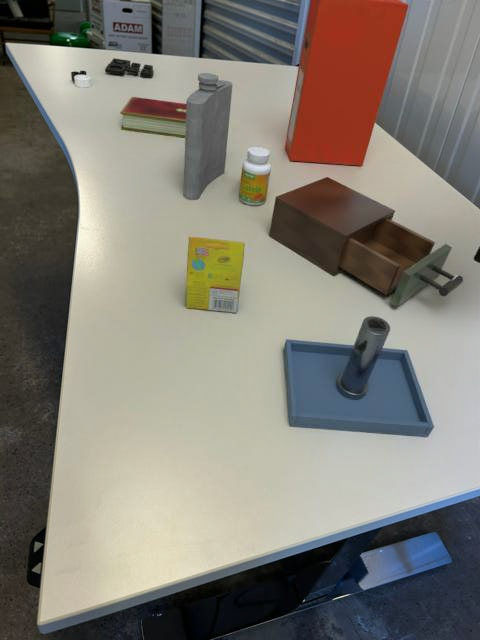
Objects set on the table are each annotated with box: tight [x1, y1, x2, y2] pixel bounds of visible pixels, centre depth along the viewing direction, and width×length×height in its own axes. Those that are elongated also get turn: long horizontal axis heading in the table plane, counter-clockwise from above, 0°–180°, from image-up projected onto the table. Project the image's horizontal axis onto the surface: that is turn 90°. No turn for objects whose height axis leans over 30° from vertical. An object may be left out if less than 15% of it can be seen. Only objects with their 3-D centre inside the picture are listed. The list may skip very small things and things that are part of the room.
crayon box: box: [185, 236, 246, 314], centre depth 65 cm, size 7×3×12 cm, turn 88°
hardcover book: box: [119, 96, 186, 139], centre depth 116 cm, size 12×21×4 cm, turn 87°
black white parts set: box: [70, 57, 154, 89], centre depth 140 cm, size 20×25×3 cm
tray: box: [283, 338, 435, 438], centre depth 59 cm, size 16×12×2 cm
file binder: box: [284, 0, 409, 167], centre depth 103 cm, size 8×17×32 cm, turn 95°
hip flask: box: [182, 72, 233, 201], centre depth 90 cm, size 16×4×20 cm, turn 160°
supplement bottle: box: [238, 146, 272, 206], centre depth 90 cm, size 5×5×10 cm
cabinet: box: [268, 176, 396, 277], centre depth 82 cm, size 15×14×8 cm
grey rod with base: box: [336, 315, 391, 400], centre depth 55 cm, size 4×5×10 cm
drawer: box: [339, 218, 464, 308], centre depth 75 cm, size 18×13×6 cm
